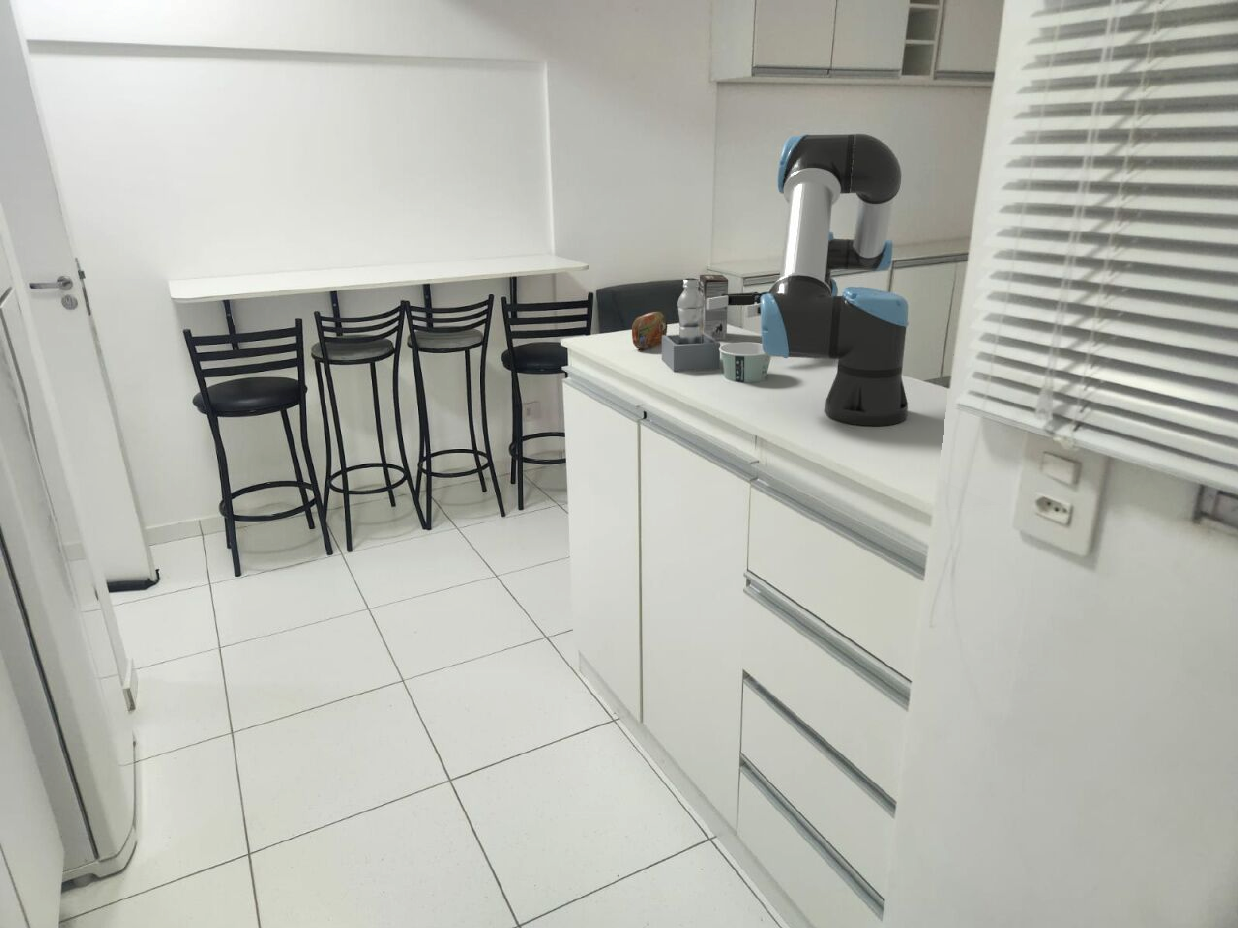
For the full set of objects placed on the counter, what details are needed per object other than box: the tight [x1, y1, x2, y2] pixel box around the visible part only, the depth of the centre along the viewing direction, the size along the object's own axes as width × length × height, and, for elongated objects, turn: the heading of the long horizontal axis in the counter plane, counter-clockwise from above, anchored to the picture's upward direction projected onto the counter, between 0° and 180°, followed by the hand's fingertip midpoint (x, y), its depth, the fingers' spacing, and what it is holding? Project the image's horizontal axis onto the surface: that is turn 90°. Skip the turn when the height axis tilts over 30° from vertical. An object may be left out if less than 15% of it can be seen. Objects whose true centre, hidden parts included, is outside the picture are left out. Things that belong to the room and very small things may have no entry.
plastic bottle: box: [676, 277, 705, 345], centre depth 188 cm, size 6×7×20 cm
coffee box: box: [699, 274, 729, 341], centre depth 217 cm, size 9×6×16 cm
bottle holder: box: [661, 333, 721, 373], centre depth 191 cm, size 12×11×6 cm
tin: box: [631, 311, 668, 350], centre depth 210 cm, size 15×3×8 cm, turn 148°
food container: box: [719, 341, 772, 383], centre depth 179 cm, size 12×12×6 cm
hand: (726, 308), depth 193 cm, fingers open, 13 cm apart
